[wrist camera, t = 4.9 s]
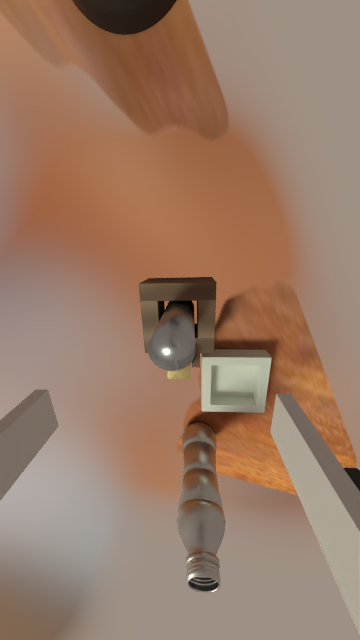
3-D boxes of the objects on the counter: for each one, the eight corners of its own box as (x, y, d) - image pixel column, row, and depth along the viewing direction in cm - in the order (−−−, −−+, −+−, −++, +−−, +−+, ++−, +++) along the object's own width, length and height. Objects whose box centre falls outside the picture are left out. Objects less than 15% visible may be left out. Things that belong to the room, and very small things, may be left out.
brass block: (172, 338, 34) (166, 363, 26) (190, 338, 34) (189, 363, 26) (173, 351, 35) (167, 378, 27) (190, 351, 34) (189, 378, 27)
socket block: (148, 278, 31) (138, 283, 26) (211, 277, 31) (216, 282, 25) (154, 351, 35) (146, 370, 30) (210, 352, 35) (213, 371, 29)
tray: (201, 349, 35) (202, 357, 32) (265, 349, 34) (271, 357, 31) (201, 400, 38) (201, 411, 35) (259, 401, 37) (264, 412, 35)
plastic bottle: (218, 438, 41) (240, 597, 22) (187, 444, 42) (182, 600, 23) (210, 414, 39) (227, 566, 20) (178, 421, 40) (165, 570, 21)
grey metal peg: (166, 295, 32) (146, 328, 18) (193, 295, 32) (195, 328, 17) (168, 321, 33) (149, 370, 19) (194, 320, 33) (195, 371, 19)
